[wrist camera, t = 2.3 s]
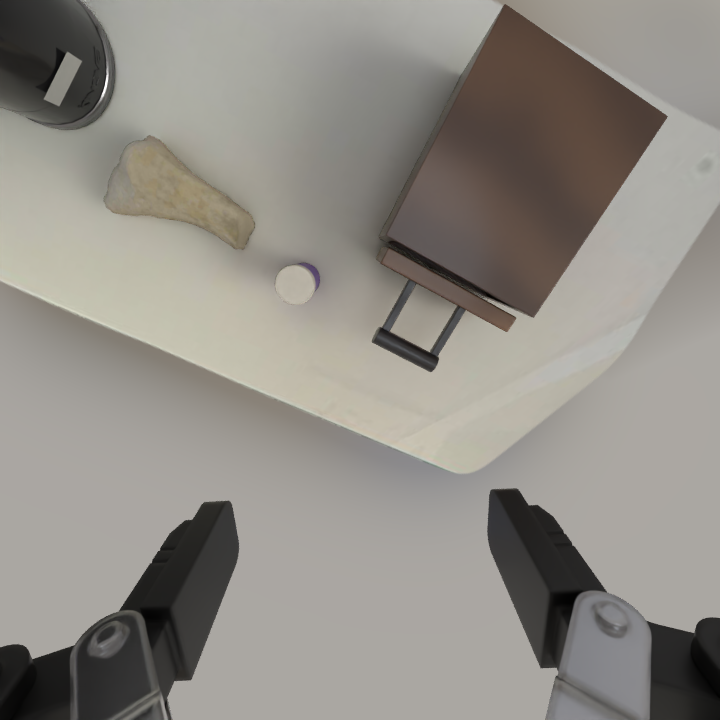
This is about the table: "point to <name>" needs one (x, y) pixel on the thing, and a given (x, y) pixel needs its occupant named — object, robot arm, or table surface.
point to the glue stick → (297, 283)
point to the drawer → (443, 289)
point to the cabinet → (520, 166)
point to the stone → (173, 193)
